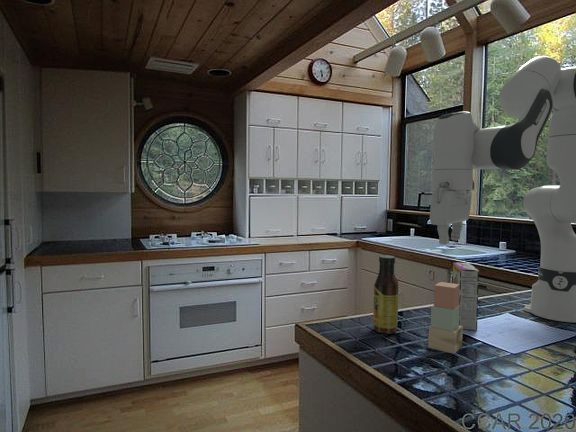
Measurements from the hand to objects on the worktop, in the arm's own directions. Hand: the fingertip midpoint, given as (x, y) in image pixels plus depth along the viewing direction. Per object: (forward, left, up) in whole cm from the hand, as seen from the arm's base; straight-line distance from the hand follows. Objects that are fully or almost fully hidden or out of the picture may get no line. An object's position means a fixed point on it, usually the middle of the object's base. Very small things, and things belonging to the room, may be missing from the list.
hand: (449, 242), depth 99 cm
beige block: (0, 0, -25) cm, 25 cm away
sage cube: (0, 0, -20) cm, 20 cm away
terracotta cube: (0, 0, -15) cm, 15 cm away
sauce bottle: (-2, -16, -25) cm, 30 cm away
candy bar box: (-21, -1, -25) cm, 33 cm away
